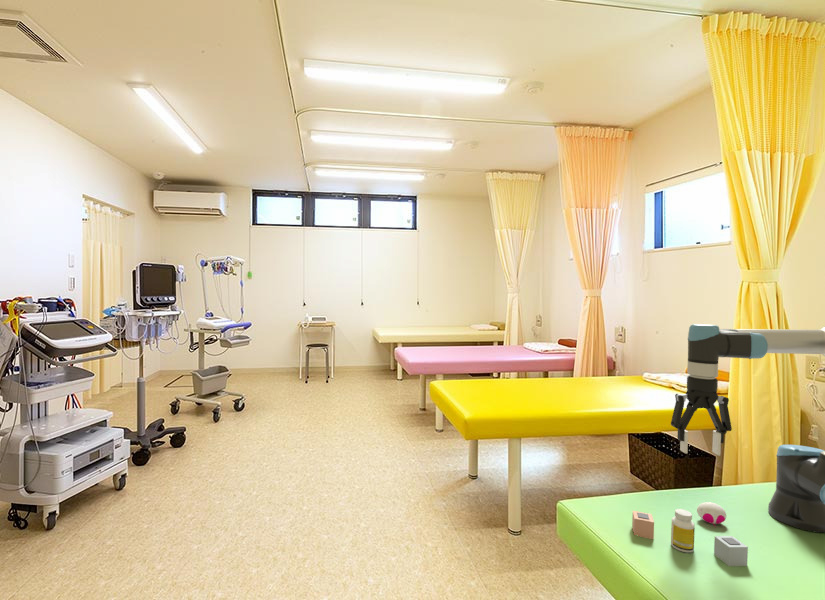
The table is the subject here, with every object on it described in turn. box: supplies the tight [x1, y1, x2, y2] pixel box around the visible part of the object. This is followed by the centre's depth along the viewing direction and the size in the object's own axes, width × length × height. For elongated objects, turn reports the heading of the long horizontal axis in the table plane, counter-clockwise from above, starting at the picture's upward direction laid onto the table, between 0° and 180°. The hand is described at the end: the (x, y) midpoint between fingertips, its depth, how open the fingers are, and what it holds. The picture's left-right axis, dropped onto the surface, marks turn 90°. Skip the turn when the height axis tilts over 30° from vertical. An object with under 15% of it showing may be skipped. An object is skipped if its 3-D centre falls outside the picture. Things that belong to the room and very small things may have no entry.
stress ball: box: [696, 501, 727, 527], centre depth 131 cm, size 8×8×7 cm
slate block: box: [713, 535, 749, 567], centre depth 113 cm, size 5×5×5 cm
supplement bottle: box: [670, 508, 696, 553], centre depth 118 cm, size 5×5×10 cm
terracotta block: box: [631, 510, 655, 540], centre depth 125 cm, size 5×5×5 cm
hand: (699, 452), depth 126 cm, fingers open, 8 cm apart
